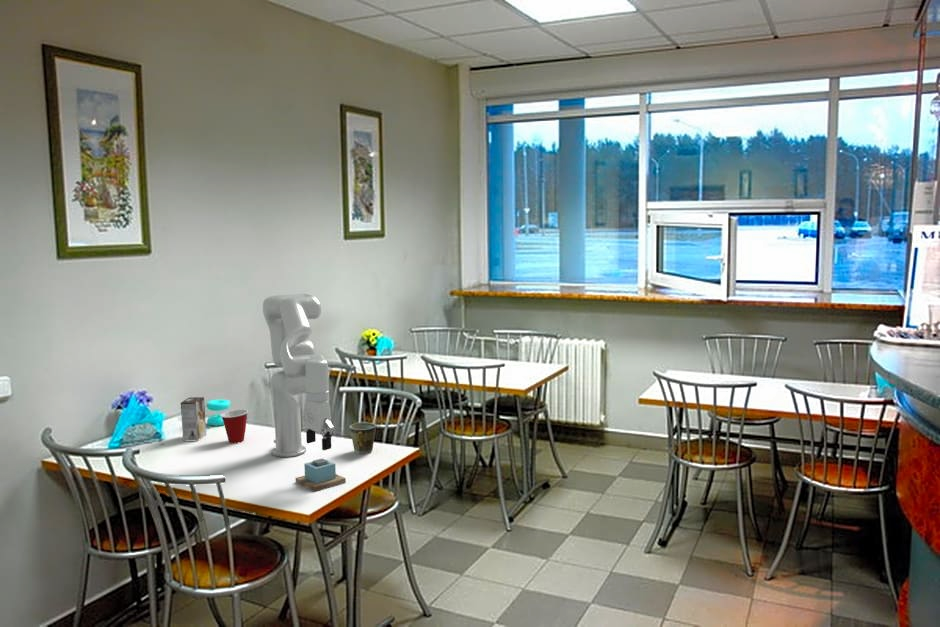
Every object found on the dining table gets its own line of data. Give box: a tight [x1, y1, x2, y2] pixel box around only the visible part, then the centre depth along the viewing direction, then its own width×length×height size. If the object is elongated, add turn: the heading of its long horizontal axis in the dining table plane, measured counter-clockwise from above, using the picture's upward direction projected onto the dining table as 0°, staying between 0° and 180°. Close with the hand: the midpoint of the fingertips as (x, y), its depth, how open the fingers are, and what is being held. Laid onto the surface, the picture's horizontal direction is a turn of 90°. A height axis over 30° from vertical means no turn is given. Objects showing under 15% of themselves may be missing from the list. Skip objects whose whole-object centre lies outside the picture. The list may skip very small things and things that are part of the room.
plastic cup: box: [220, 409, 249, 444], centre depth 299 cm, size 11×11×12 cm
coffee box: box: [180, 396, 207, 441], centre depth 304 cm, size 9×6×16 cm
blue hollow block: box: [303, 458, 337, 484], centre depth 252 cm, size 7×7×5 cm
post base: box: [295, 458, 347, 492], centre depth 252 cm, size 12×12×8 cm
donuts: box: [205, 398, 231, 427], centre depth 326 cm, size 10×10×10 cm
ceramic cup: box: [349, 421, 377, 455], centre depth 283 cm, size 13×10×10 cm
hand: (318, 445), depth 251 cm, fingers open, 9 cm apart
